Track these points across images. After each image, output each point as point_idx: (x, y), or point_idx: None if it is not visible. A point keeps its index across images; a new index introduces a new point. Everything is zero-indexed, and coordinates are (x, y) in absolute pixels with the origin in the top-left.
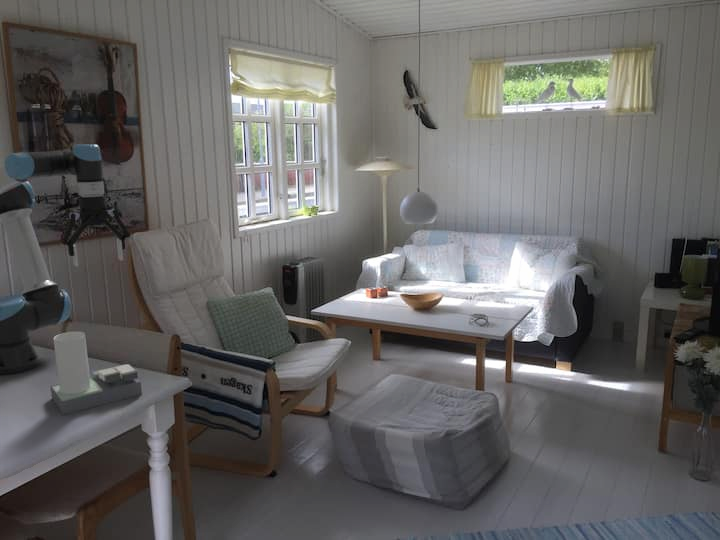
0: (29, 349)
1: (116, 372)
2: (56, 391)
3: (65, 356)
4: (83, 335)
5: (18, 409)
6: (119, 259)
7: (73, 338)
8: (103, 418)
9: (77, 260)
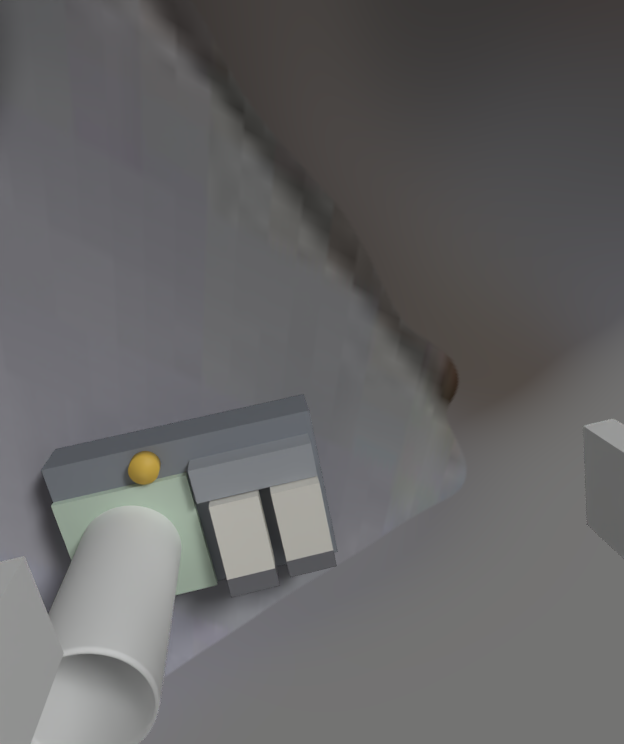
0: None
1: (269, 574)
2: (69, 548)
3: (83, 697)
4: (153, 719)
5: None
6: (587, 474)
7: (106, 629)
8: (211, 638)
9: (32, 724)
